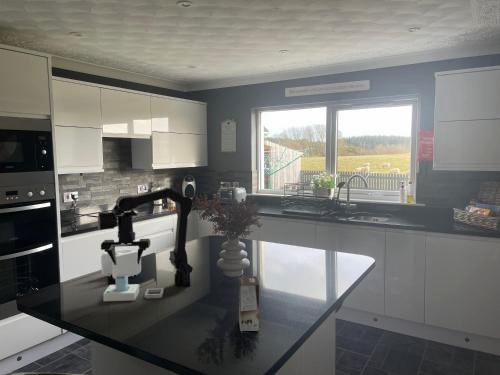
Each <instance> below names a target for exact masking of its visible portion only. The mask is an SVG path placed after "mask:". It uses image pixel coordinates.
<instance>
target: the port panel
mask: <svg viewBox="0 0 500 375" xmlns="http://www.w3.org/2000/svg"><path fill="white" fill-rule="evenodd" d="M139 293H140V284H137V283H135V284H134V283H133V284H128V291H116V284H109V285H108V287H107V288H106V290H105V291H104V292H103V294H102V295H103V302H116V301H117V302H121V301H122V302H123V301H125V302H127V301H136V298H137V297H138V294H139Z"/></svg>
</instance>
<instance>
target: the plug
mask: <svg viewBox="0 0 500 375" xmlns="http://www.w3.org/2000/svg"><path fill="white" fill-rule="evenodd" d="M114 280H115V285H116V291H128V285H129V277H128V275H127V274H118V275H117V277H116V279H114Z"/></svg>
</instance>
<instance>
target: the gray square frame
mask: <svg viewBox="0 0 500 375" xmlns="http://www.w3.org/2000/svg"><path fill="white" fill-rule="evenodd" d="M164 293H165V288H161V287H160V288H147V289H146V290H145V293H144V299H162V298H163V296H164Z"/></svg>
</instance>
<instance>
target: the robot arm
mask: <svg viewBox="0 0 500 375" xmlns="http://www.w3.org/2000/svg"><path fill="white" fill-rule="evenodd" d="M163 199H169V200H170V201H172V202H174V204H175V211H176V216H177V218H176V227H175V228H176V229H175V230H176V231H175V239H174V240H175V241H174V242H175V243H174V248H173V250H170V251H169V259H168V260H169V261H170V264H171V265H172V266H173V268H174V269H175V270H176V271H175V273H174V284H175V287H191V284H192V280H191V279H192V278H191V275H192V273H193V270H194V268H193V267H192V266H191V265H190V264H189V261H188V254H187V251H186V243H187V232H188V221H189V220H188V218H189V215H191V212H192V207H193V203H194V202H193V199H192V198H191V197H189V196H186V195H183V194H180V193H178V192H177V191H175V190H173V189H172V188H171V187H164V188H162V189H161V188H160V189H157V190H152V191H150V192H145V193H141V194H136V195H135V194H133V195H132V194H131V195H120V196H119V197H117V199H116V201H115V205H114V207H113V208H112V209H111V211H109V212H102V211H101V212H98V213H97V214H98V215H97V220H96V221H97V229H98V231H102V230H112V229H115V227H117V230H118V231H117V238H118V241H114V239H105V240H103V241H102V242H101V243H100V250H101V251H103V250H104V253H106V252H107V253H108V254H109V256H110V257H111V259H112V261H113V263H114V265H116V256H115V251H116V247H118V248H119V247H138V249H137V251H138V259H137V262H138V264H139V262H140V259H141V260H142V254H143V252H144V251H146V250H147V249H150V246H151V238H139V240H137V241H136V232H135V231H134V226H133V222H134V221H133V219H134V218H133V217H138V213H137V212H135V211H134V209H137V208H138V207H139V206H141V205H145V204H149V203H151V202H152V203H153V202H156V201H160V200H163Z"/></svg>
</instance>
